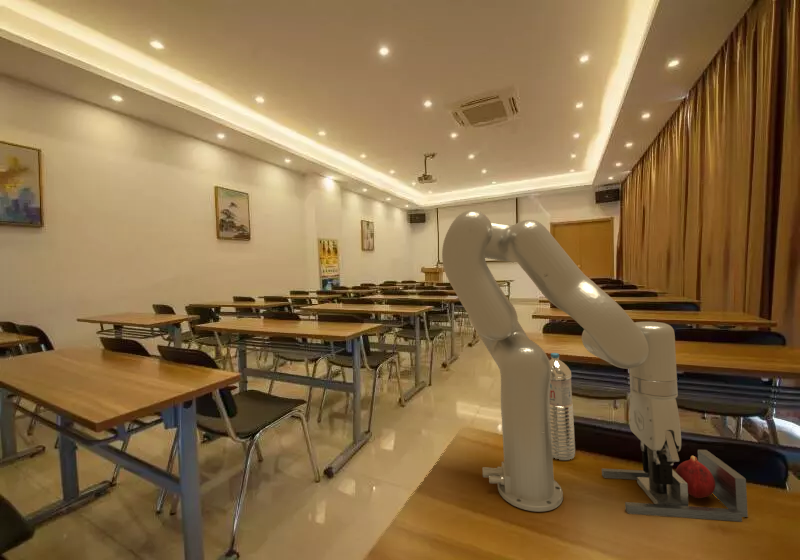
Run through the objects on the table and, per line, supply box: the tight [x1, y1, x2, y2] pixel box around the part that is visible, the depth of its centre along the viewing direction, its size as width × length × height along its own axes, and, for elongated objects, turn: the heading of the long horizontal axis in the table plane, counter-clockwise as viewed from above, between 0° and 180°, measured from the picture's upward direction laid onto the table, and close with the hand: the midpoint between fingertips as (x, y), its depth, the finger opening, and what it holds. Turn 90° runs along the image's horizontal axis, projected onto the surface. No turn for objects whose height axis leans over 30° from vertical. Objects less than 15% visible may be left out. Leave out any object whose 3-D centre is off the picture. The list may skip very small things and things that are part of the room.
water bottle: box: [549, 352, 576, 461], centre depth 84 cm, size 7×7×25 cm
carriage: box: [636, 445, 689, 506], centre depth 67 cm, size 5×8×12 cm, turn 169°
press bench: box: [601, 449, 749, 522], centre depth 67 cm, size 20×12×7 cm, turn 79°
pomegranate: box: [675, 455, 715, 499], centre depth 66 cm, size 6×6×8 cm
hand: (657, 476), depth 67 cm, fingers closed on carriage, 2 cm apart
